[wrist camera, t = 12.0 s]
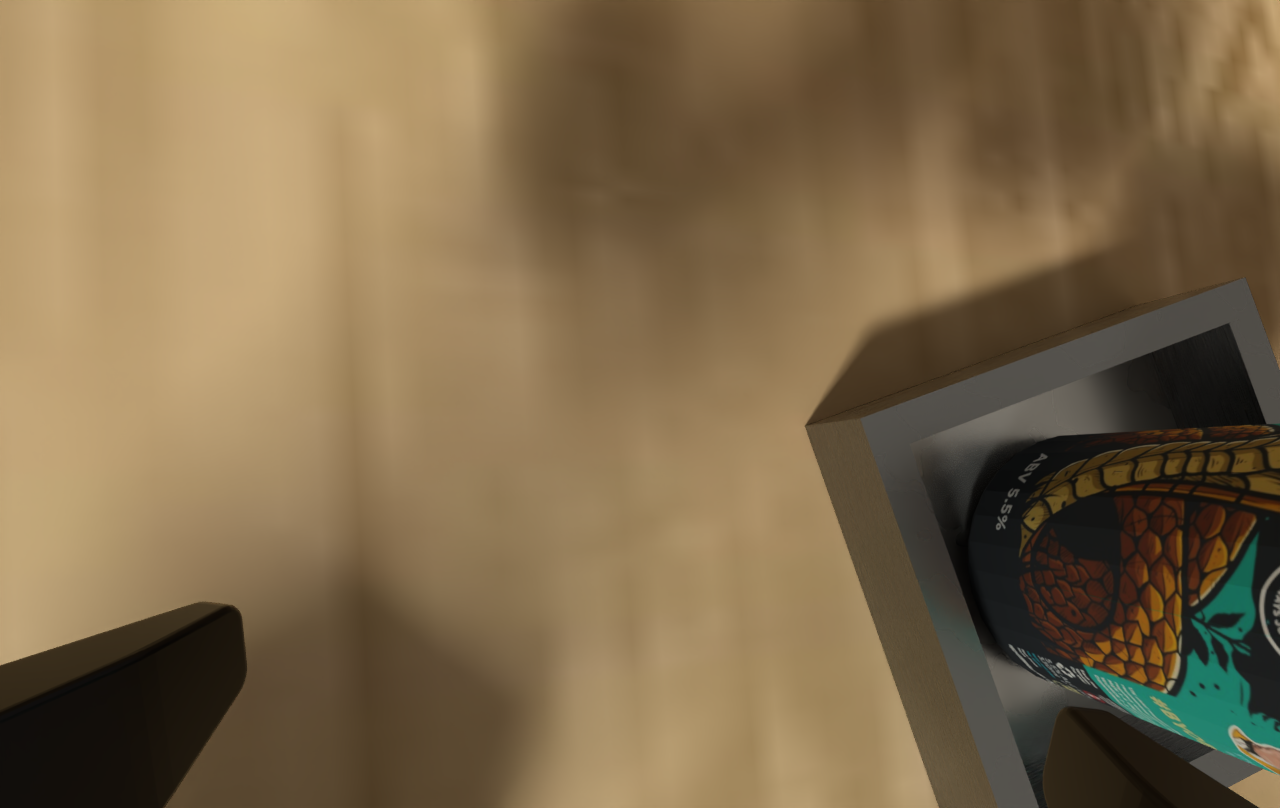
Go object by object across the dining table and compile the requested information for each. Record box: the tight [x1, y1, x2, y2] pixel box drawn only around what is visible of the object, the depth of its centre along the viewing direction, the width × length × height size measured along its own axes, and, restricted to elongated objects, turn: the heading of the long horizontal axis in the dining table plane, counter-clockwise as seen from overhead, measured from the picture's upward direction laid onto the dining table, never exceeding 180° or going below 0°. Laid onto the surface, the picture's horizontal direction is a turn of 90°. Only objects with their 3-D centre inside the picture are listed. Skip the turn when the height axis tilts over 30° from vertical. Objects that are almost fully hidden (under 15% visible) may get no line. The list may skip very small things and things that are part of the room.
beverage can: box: [968, 423, 1280, 775], centre depth 16 cm, size 7×7×12 cm
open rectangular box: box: [805, 278, 1280, 808], centre depth 21 cm, size 12×12×4 cm
